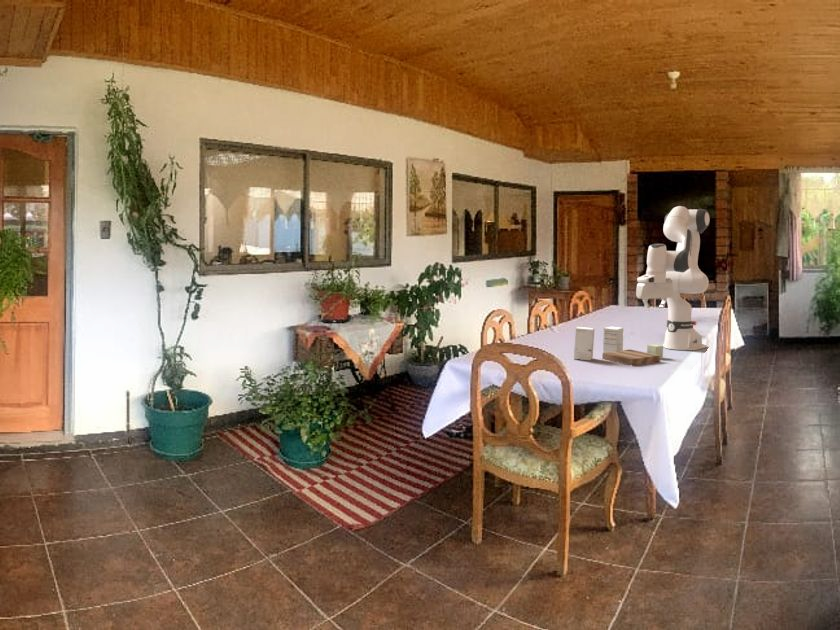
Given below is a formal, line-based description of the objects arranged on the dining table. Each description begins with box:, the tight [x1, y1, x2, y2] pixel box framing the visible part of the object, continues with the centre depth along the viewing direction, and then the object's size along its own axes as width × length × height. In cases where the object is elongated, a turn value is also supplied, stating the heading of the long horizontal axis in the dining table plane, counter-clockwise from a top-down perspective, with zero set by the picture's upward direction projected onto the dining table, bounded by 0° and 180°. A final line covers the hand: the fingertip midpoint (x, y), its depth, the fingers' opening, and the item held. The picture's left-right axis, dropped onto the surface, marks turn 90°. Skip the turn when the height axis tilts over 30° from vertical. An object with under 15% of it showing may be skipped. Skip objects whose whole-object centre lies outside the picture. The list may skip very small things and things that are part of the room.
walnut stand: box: [602, 349, 661, 367], centre depth 328 cm, size 18×18×3 cm
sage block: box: [646, 343, 664, 359], centre depth 334 cm, size 5×5×6 cm
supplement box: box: [602, 325, 624, 354], centre depth 346 cm, size 7×7×13 cm
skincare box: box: [573, 326, 596, 361], centre depth 331 cm, size 8×6×15 cm
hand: (654, 307), depth 332 cm, fingers open, 8 cm apart
